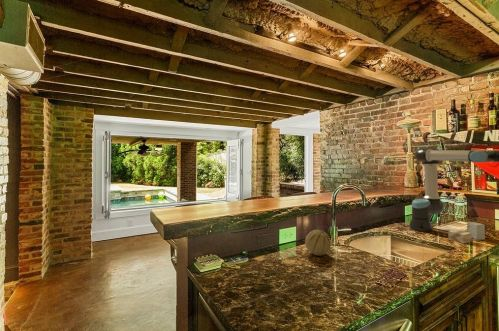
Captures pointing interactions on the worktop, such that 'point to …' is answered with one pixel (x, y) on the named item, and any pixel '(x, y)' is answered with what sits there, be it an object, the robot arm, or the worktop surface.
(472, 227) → the small box
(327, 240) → the cantaloupe
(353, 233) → the worktop surface
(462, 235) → the pedestal block
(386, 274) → the chocolate bar
